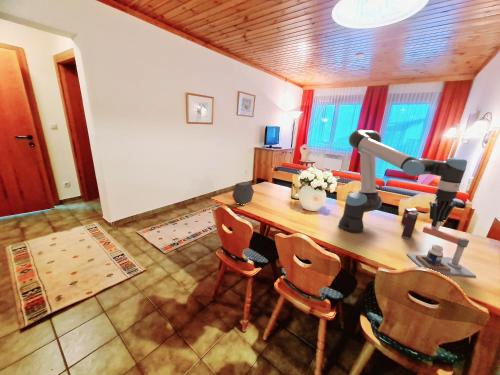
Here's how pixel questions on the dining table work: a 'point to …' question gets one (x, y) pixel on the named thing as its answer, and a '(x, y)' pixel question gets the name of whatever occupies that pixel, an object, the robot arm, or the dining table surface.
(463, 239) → the bar
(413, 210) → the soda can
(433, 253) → the pill bottle
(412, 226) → the supplement box
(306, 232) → the dining table surface
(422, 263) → the latch board
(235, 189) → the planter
